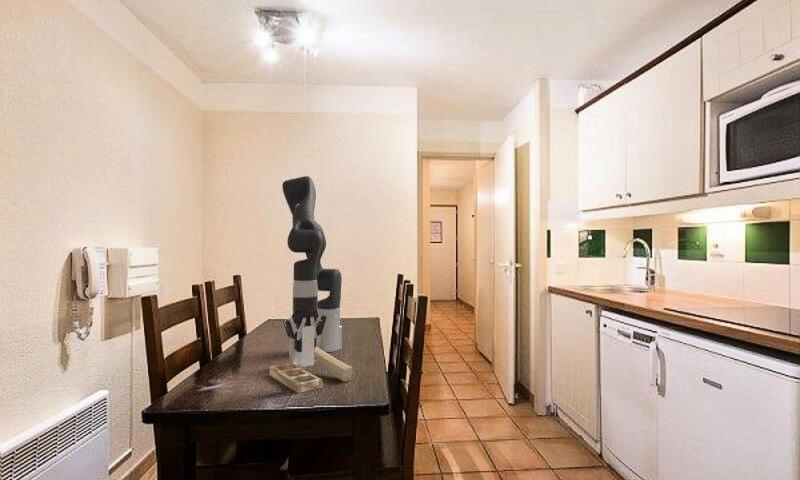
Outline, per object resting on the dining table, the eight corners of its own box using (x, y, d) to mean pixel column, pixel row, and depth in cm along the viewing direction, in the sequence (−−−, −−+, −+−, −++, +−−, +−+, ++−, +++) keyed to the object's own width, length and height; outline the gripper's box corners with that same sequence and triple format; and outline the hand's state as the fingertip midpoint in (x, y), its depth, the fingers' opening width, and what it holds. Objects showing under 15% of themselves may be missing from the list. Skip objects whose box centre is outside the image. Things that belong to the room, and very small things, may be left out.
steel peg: (308, 361, 141) (308, 323, 141) (314, 364, 138) (314, 325, 138) (296, 363, 139) (296, 325, 139) (302, 366, 136) (302, 327, 136)
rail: (292, 371, 155) (292, 363, 155) (322, 387, 138) (322, 378, 138) (269, 375, 150) (269, 366, 150) (298, 393, 133) (298, 383, 133)
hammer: (357, 350, 144) (301, 319, 164) (346, 353, 141) (291, 320, 160) (349, 396, 147) (295, 359, 166) (338, 399, 143) (285, 362, 163)
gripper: (320, 291, 146) (320, 345, 146) (278, 295, 137) (278, 351, 137) (331, 294, 140) (331, 349, 140) (288, 297, 131) (288, 356, 131)
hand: (305, 350), depth 138 cm, fingers closed on steel peg, 4 cm apart
